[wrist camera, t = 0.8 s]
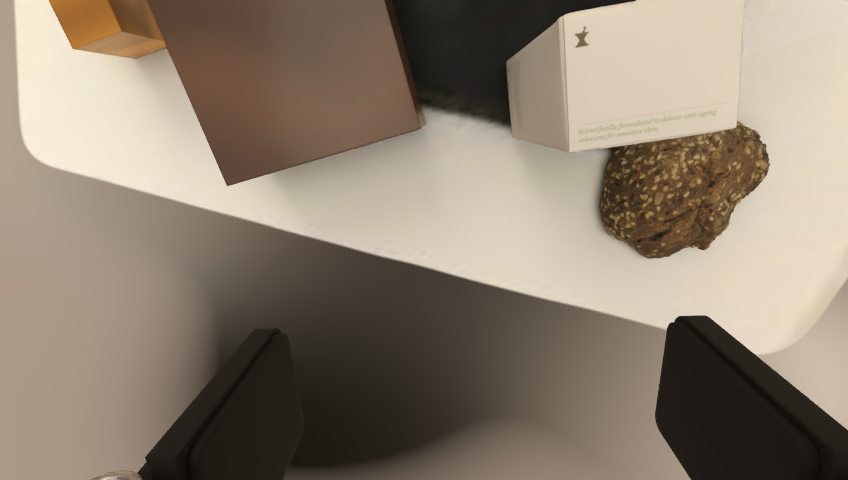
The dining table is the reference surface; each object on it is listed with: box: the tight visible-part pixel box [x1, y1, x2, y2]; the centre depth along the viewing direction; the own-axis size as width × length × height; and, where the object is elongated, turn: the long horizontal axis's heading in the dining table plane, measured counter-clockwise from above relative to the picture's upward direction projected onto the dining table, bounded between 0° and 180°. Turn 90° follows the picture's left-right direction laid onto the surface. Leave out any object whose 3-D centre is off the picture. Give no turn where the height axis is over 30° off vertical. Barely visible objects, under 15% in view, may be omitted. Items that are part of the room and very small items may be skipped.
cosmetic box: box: [506, 0, 746, 153], centre depth 26 cm, size 8×7×16 cm
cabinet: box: [147, 0, 426, 186], centre depth 29 cm, size 20×15×8 cm
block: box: [49, 0, 167, 59], centre depth 30 cm, size 4×4×6 cm
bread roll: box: [600, 121, 770, 258], centre depth 33 cm, size 13×12×5 cm
